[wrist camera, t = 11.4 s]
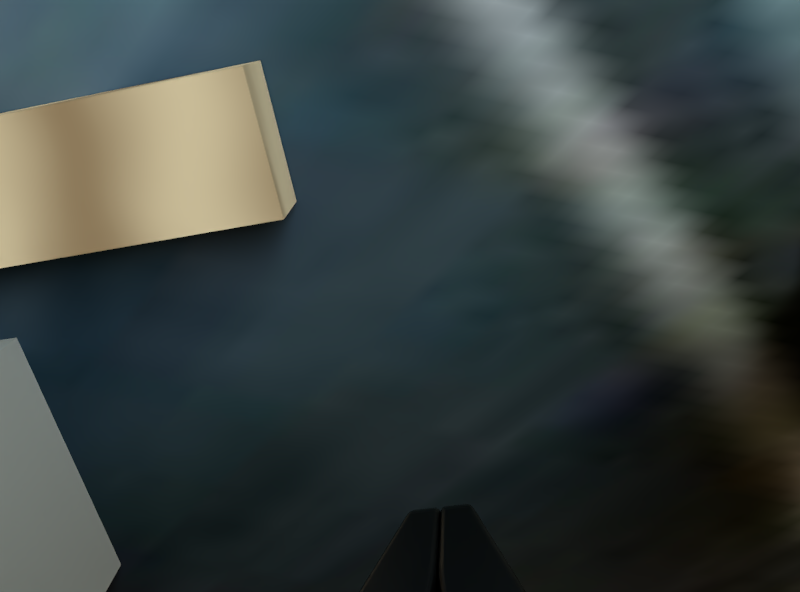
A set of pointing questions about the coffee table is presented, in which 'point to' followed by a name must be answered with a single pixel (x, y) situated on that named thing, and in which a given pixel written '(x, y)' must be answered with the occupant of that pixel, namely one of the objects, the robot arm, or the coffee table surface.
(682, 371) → the coffee table surface
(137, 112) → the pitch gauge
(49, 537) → the block
